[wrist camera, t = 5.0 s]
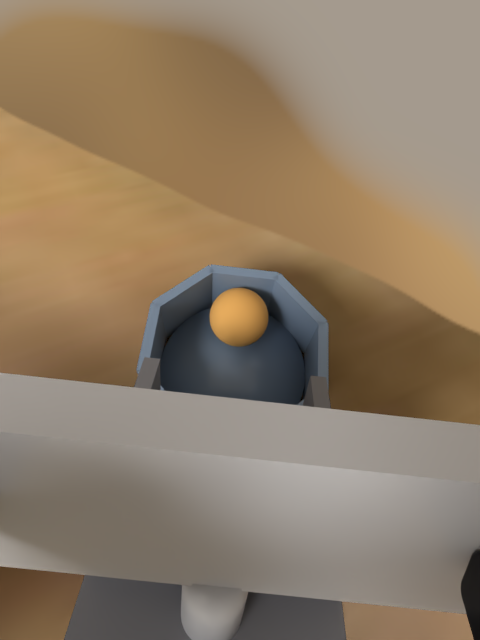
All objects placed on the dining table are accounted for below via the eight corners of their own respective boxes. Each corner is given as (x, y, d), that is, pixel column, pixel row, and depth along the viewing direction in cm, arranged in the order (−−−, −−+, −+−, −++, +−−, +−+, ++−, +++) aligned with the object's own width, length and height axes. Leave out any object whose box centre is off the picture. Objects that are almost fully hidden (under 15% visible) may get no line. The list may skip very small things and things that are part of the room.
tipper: (426, 748, 10) (660, 596, 5) (-31, 702, 10) (-215, 505, 5) (358, 430, 18) (430, 249, 13) (99, 402, 18) (73, 208, 13)
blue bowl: (310, 463, 22) (328, 450, 19) (136, 445, 22) (123, 428, 19) (313, 311, 27) (328, 277, 23) (166, 294, 26) (160, 258, 23)
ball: (275, 343, 25) (284, 309, 22) (226, 366, 23) (229, 333, 21) (246, 304, 26) (251, 267, 24) (199, 323, 25) (199, 287, 22)
